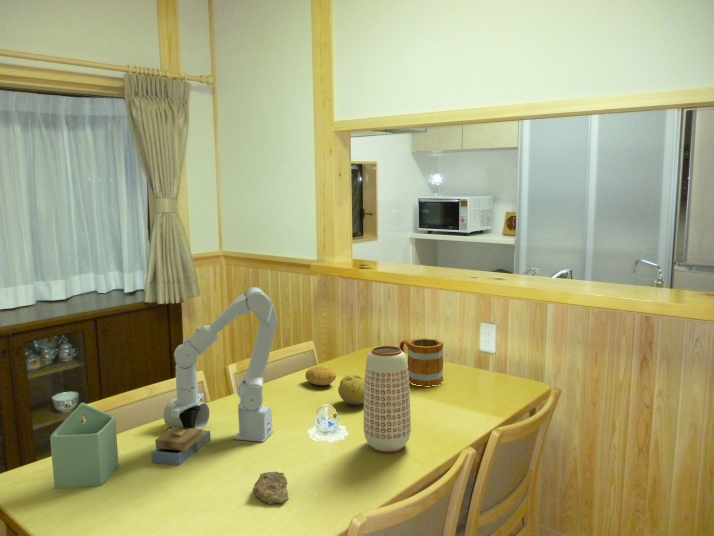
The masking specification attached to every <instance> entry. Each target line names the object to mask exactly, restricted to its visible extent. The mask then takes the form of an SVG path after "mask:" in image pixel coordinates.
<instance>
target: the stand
mask: <svg viewBox="0 0 714 536" xmlns="http://www.w3.org/2000/svg"><path fill="white" fill-rule="evenodd" d="M211 438H212V437H211V430H204V429H202V438H200V439H199V440H198V441H197V442H196V443H194V451H195V452H194V453H199V451H201V450H202V449H203V448H204V447H205V446H206V445H208V443H210V442H211Z"/></svg>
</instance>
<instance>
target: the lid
mask: <svg viewBox="0 0 714 536" xmlns="http://www.w3.org/2000/svg"><path fill="white" fill-rule="evenodd" d="M202 430H203V429H195V428H184V427H173V426H171V427H170V428H169V429H168V430H167V431H165V432H164V433H162V434H161V435H159V437H157V438H156V439H155V440H154V441H155V448H156V449H157V448H160V449H170V450H180V451H186V450H187V449H189V448H190V447H191V446H192V445H193V444H194V443H196V442H197V441H198V440H199V439H200V438H202Z"/></svg>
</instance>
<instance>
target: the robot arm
mask: <svg viewBox="0 0 714 536" xmlns="http://www.w3.org/2000/svg"><path fill="white" fill-rule="evenodd" d="M249 311H251V312H252V313H253V314H254V315H256V317H257V319H258V320H259V326H258V328H257V333H256V337H255V340H254V343H253V348H252V352H251V356H250V360H249V363H248V367H247V371H246V373H245V374H244V376H243V380H242V381H241V383H240V384H239V385H238V387H237V395H238V398H239V399H240V402H238V403H239V404H238V405H237V409H238V410H237V412H238V433H237V434H236V435H235V436H234V437H233V439H234V440H241V441H249V442H250V441H251V442H260V443H261V442H262V443H263V442H265V441H266V440H267V439H268V438H269V437H270V435H271V434H273V432H274V429H273V411H272V409H271V408H270V407H267V406H264V405H263V401H264V396H263V388H264V377H265V376H264V375H265V371H266V368H267V364H268V360H269V356H270V353H271V349H272V345H273V342H274V338H275V333H276V330H277V326H278V323H279V322H278V321H279V318H278V316H277V313H276V309H275V306H274V304H273V301H272V299H271V298H270V297H269V296H268V294H267V293H265V292H264V291H263V290H262V288H261V287H260V288H259V287H256V286H253V287H252V286H251V287H249V288H247V289H246V290H245V291H244V293H241V294H240V295H238V296H237V297H236V298H235V300H233V301H232V302H231V303H230V304H229V305H228V306H227V307H226V308H225V309H224V310H223V311H222V312H221V314H218V316H217V317H216V318H215V319H214V320H213V321H212V322H211V323H210V324H206V325H205V324H204V325H201V326H198V327H196V328H195V332H194V333H193V334H192V335H191V336H189V338H187V339H184V340H183V341H182V344H179V345H178V346H176V348H175V350H174V353H173V357H174V360H175V361H174V362H175V386H176V388H175V389H176V398H177V399H176V400H175V401H174V404H175V406H174V408H173V409H172V410H171V417H179V418H180V420H181V422H182V424H183V427H184V428H194V427H195V422H196V418H197V415H198V412H199V410H200V406H198V405H197V404H198V403H199V402H201V401H203V400H204V392H198V378H197V377H198V376H197V375H198V374H197V369H196V362H197V360H198V359H197V358H198V357H199V356H201V355H202V354H203V353H205V351H207V350H208V349H209V348H210V347H211V346H212V345H213V344H214V343H215V342H217V340H218V333H220V332H221V331H222V330H223V329H224V328H226V326H228V325H229V324H231V323H232V322H233V321H234V320H235V319H236V318H237V317H238V316H245V315H250V312H249Z"/></svg>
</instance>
